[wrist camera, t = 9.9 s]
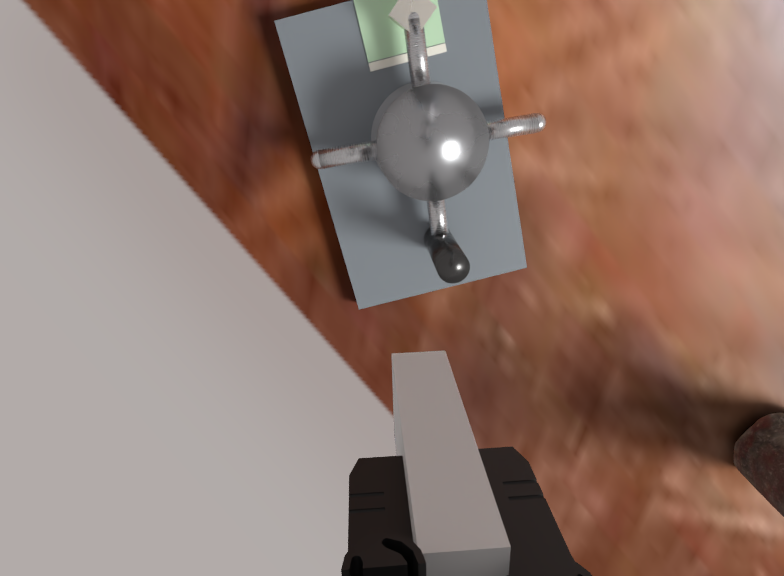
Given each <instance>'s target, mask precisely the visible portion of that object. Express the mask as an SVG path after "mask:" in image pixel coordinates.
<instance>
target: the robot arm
mask: <svg viewBox="0 0 784 576" xmlns="http://www.w3.org/2000/svg"><path fill="white" fill-rule="evenodd" d="M392 380H393V410H394V436H395V445H396V454H397V456H389V457H374V458H359V459H358V461H357V463H356V464H355V466H354V468H353V470H352V472H351V473H350V475H349V529H348V552H347V554H346V555H345V557H344V562H343V565H342V569H341V572H342V576H592V575H591V574H590V572H588V571H587V570H586V569H584V568H583V567H582V566H581V565H579V564H578V563H577V562H575V561H574V559H573V557H572V556H571V554H570V552H569V550H568V547H567V545H566V543H565V541H564V539H563V536H562V534H561V532H560V530H559V528H558V525H557V523H556V521H555V519H554V517H553V515H552V512H551V510H550V508H549V506H548V504H547V501H546V499H545V498H544V497H543V493H542V490H541V488H540V486H539V484H538V483H537V481H536V477H535V475H534V473H533V471H532V469H531V466H530V464H529V462H528V461H527V460H526V459H525V458H524V457H523V456H522V455H521V454H520V453H519V452H517V451H516V450H515V449H514V448H513V447H501V448H486V449H478V447H477V444H476V441H475V438H474V435H473V432H472V429H471V426H470V423H469V420H468V417H467V414H466V412H465V409H464V406H463V403H462V400H461V397H460V394H459V391H458V388H457V385H456V382H455V379H454V376H453V373H452V370H451V367H450V364H449V361H448V358H447V355H446V352H445V351H430V352H413V353H395V354H392Z"/></svg>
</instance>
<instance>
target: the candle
mask: <svg viewBox="0 0 784 576" xmlns="http://www.w3.org/2000/svg"><path fill="white" fill-rule="evenodd" d="M733 454H734V464H735V466H736V467H737V469H738V470H739V471H740V473H741V474H742V475H743V476H744V477H745V478H746V479H747V480H748V481H749V482H750V483H751V484H752V485H753V486H754V487H755V488H756V489H757V490H758V491H759V492H760V493H761V494H762V495H763V496H764V497H765V498H766V500H767V501H768V502H769V503H770V504H771V505H772V506H773V507H774V508H775V509H776V510H777V511H778V512H779V513H780V514H781V515H782V516H783V517H784V413H772V414H768V415H767V416H764V417H762V418H760V419H758V420H757V421H756V422H755V424H754V425H753V426H751V427H750V428H749V429H748V430H747V431H746V432H745V433H744V434H743V435H742V436H740V438H739V439H738V440H737V441H736V442H735V447H734V453H733Z"/></svg>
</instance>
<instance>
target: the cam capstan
mask: <svg viewBox="0 0 784 576" xmlns="http://www.w3.org/2000/svg"><path fill="white" fill-rule="evenodd" d="M436 8H437V6H436V5H435V4H433V3H432V2H431V1H430V0H398V1H397V3H396V4H395V6H394V7H393V9H392V11H391V12H390V14H389V15H388V18H390V19H391V20H392V21H393V22H394V23H396V24H397V25H398V26H399V27H400V28H402V29H403V30H404V34H405V41H406V49H407V56H408V64H409V71H410V79H411V86H412V89H410V90H408V91H406V92H404V93H403V94H402V95H400V96H399V97H398V98H396V99H395V100H394V101H393V102H392V103H391V105H390V106H389V107H388V108H387V110H386V112H385V113H384V115H383V117H382V119H381V121H380V124H379V127H378V131H377V137H376V140H374V141H368V142H362V143H356V144H350V145H344V146H338V147H332V148H327V149H321V150H316V151H315V152H313V153H312V155H311V163H312V165H313V166H314V167H315V168H317V169H325V168H331V167H337V166H343V165H349V164H355V163H361V162H366V161H372V160H378V161H379V164H380V167H381V169H382V171H383V173H384V175H385V176H386V178H387V179H388V181H389V182H390V183H391V184H392V185H393V186H394V187H395V188H396V189H397V190H399V191H400V192H401V193H403V194H405V195H407V196H409V197H411V198H414V199H417V200H422V201H427V207H428V215H429V222H430V228H429V229H428V230H427V231H426V233H425V235H424V243H425V245H426V247H427V250H428V252H429V254H430V257H431V259H432V261H433V264H434V266H435V268H436V271H437V273H438V275H439V277H440V278H441V279H442V280H443V281H445V282H447V283H458V282H461V281H462V280H464V279H465V278H466V277H467V275H468V273H469V271H470V263H469V260H468V259H467V257H466V256H465V254H464V252H463V251H462V249H461V248H460V246H459V245H458V243H457V241H456V240H455V238H454V237H453V235H452V234H451V232H450V231H449V229H448V223H447V214H446V206H445V199H448V198H450V197H453V196H455V195H457V194H459V193H461V192H462V191H464V190H465V189H466V188H467V187H469V186H470V185H471V184H472V183H473V182H474V180H475V179H476V178H477V177H478V175H479V174H480V172H481V170H482V168H483V166H484V164H485V161H486V158H487V154H488V149H489V141H490V140H496V139H502V138H508V137H514V136H520V135H526V134H532V133H537V132H540V131H542V130H543V129H544V127H545V125H546V119H545V117H544V116H543V115H542V114H540V113H533V114H527V115H521V116H515V117H510V118H504V119H498V120H492V121H486V120H485V117H484V115H483V113H482V111H481V110H480V108H479V107H478V105H477V104H476V103H475V102H474V101H473V100H472V99H471V98H470V97H469V96H468V95H467V94H465V93H464V92H462V91H460V90H458V89H456V88H454V87H451V86H448V85H442V84H431V80H430V71H429V63H428V55H427V46H426V38H425V29H424V25H425V24H426V22H427V21H428V20H429V18H430V17H431V15H432V14H433V12H434V11H435V9H436Z"/></svg>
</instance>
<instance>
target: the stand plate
mask: <svg viewBox="0 0 784 576" xmlns="http://www.w3.org/2000/svg"><path fill="white" fill-rule="evenodd" d="M397 1H398V0H351V1H347V2H343V3H340V4H336V5H332V6H328V7H325V8H321V9H317V10H313V11H310V12H306V13H302V14H298V15H295V16H291V17H287V18H283V19H280V20H276V21H274V22H275V25H276V29H277V32H278V35H279V39H280V42H281V46H282V49H283V52H284V56H285V59H286V63H287V66H288V69H289V73H290V76H291V80H292V83H293V86H294V90H295V93H296V97H297V100H298V103H299V107H300V110H301V114H302V117H303V120H304V124H305V127H306V131H307V134H308V137H309V141H310V144H311V148H312V151H313V152H315V151H316V150H321V149H327V148H332V147H338V146H344V145H350V144H356V143H362V142H368V141H374V140H376V137H377V131H378V127H379V124H380V121H381V119H382V117H383V115H384V113H385V112H386V110H387V108H388V107H389V106H390V105H391V103H392V102H393V101H394V100H395V99H396V98H398V97H399V96H400V95H402V94H403V93H404V92H406V91H408V90H410V89H412V86H411V79H410V71H409V64H408V56H407V49H406V41H405V34H404V30H403V29H402V28H400V27H399V26H398V25H397V24H396V23H394V22H393V21H392V20H391V19H390V18H388V15H389V14H390V12H391V11H392V9H393V7H394V6H395V4H396V3H397ZM430 1H431V2H432V3H433V4H435V5H436V6H437V8H436V9H435V11H434V12H433V14H432V15H431V17H430V18H429V20H428V21H427V22H426V24H425V25H424V29H425V38H426V46H427V55H428V63H429V71H430V80H431V84H442V85H448V86H451V87H454V88H456V89H458V90H460V91H462V92H464V93H465V94H467V95H468V96H469V97H470V98H471V99H472V100H473V101H474V102H475V103H476V104H477V105H478V107H479V108H480V110H481V111H482V113H483V115H484V117H485V120H486V121H492V120H498V119H504V112H503V105H502V99H501V92H500V85H499V79H498V72H497V66H496V59H495V52H494V46H493V39H492V32H491V26H490V19H489V12H488V6H487V0H430ZM318 171H319V175H320V178H321V182H322V185H323V189H324V192H325V195H326V199H327V202H328V206H329V209H330V212H331V216H332V219H333V223H334V226H335V229H336V233H337V236H338V240H339V243H340V246H341V250H342V253H343V257H344V260H345V263H346V267H347V270H348V274H349V277H350V280H351V284H352V287H353V291H354V294H355V297H356V301H357V304H358V308H359V309H363V308H367V307H371V306H375V305H379V304H383V303H387V302H391V301H395V300H399V299H403V298H407V297H411V296H415V295H419V294H423V293H427V292H431V291H435V290H439V289H443V288H447V287H451V286H455V285H459V284H463V283H467V282H471V281H475V280H479V279H483V278H487V277H491V276H495V275H499V274H503V273H507V272H511V271H515V270H519V269H523V268H527V265H526V258H525V251H524V245H523V238H522V232H521V225H520V218H519V212H518V205H517V198H516V192H515V185H514V178H513V172H512V165H511V158H510V152H509V145H508V139H507V138H502V139H496V140H490V141H489V149H488V154H487V158H486V161H485V164H484V166H483V168H482V170H481V172H480V174H479V175H478V177H477V178H476V179H475V180H474V182H473V183H472V184H471V185H470V186H469V187H467V188H466V189H465V190H464V191H462V192H461V193H459V194H457V195H455V196H453V197H450V198H448V199H445V206H446V214H447V223H448V229H449V231H450V232H451V234H452V235H453V237H454V238H455V240H456V241H457V243H458V245H459V246H460V248H461V249H462V251H463V252H464V254H465V256H466V257H467V259H468V260H469V263H470V271H469V273H468V275H467V277H466V278H465V279H464V280H462V281H461V282H458V283H447V282H445V281H443V280H442V279H441V278H440V277H439V275H438V273H437V271H436V268H435V266H434V264H433V261H432V259H431V257H430V254H429V252H428V250H427V247H426V245H425V243H424V235H425V233H426V231H427V230H428V229H429V228H430V222H429V215H428V207H427V201H422V200H417V199H414V198H411V197H409V196H407V195H405V194H403V193H401V192H400V191H399V190H397V189H396V188H395V187H394V186H393V185H392V184H391V183H390V182H389V181H388V179H387V178H386V176H385V175H384V173H383V171H382V169H381V167H380V164H379V161H378V160H372V161H366V162H361V163H355V164H349V165H343V166H337V167H331V168H325V169H318Z"/></svg>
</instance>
